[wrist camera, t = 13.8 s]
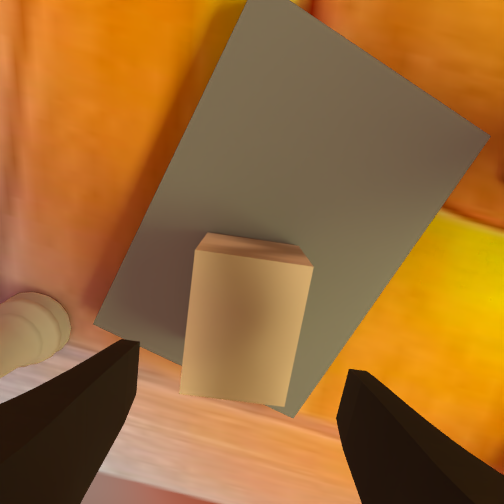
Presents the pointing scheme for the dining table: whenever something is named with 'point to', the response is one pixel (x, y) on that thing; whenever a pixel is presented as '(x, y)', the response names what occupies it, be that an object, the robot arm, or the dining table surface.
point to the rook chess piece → (31, 330)
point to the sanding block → (244, 319)
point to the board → (294, 183)
